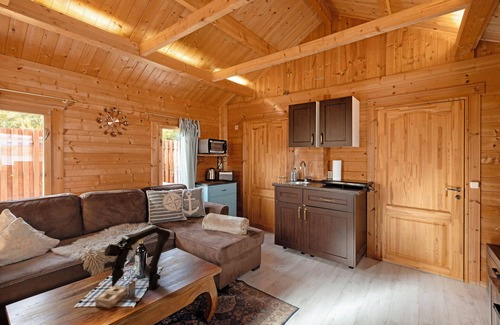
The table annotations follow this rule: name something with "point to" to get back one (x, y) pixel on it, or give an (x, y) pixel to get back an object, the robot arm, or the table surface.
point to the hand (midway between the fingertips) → (112, 283)
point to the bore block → (111, 297)
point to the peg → (131, 290)
